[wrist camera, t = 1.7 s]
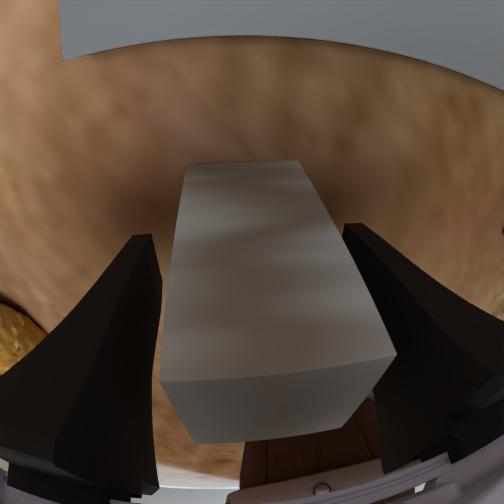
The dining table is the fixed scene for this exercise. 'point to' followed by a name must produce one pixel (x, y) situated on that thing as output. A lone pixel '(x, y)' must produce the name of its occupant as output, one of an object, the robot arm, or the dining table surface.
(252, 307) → the peg
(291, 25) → the socket board
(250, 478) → the flowerpot
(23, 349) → the bagel
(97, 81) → the dining table surface
